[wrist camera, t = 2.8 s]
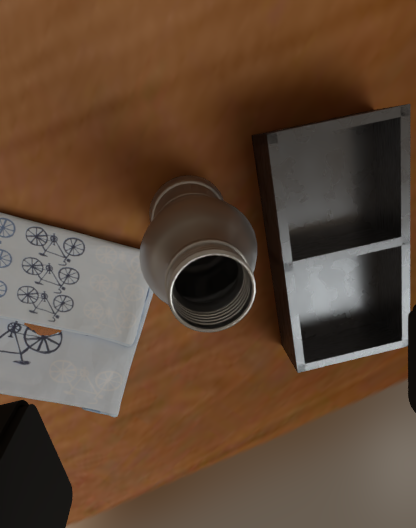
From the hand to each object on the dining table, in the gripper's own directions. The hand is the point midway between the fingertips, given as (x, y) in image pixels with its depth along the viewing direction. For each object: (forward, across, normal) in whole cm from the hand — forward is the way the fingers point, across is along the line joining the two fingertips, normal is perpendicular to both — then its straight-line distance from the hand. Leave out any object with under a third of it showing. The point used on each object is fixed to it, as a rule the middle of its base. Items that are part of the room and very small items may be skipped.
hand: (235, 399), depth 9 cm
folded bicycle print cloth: (+27, +16, +8) cm, 32 cm away
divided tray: (+26, -14, +6) cm, 30 cm away
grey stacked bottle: (+26, 0, 0) cm, 26 cm away
